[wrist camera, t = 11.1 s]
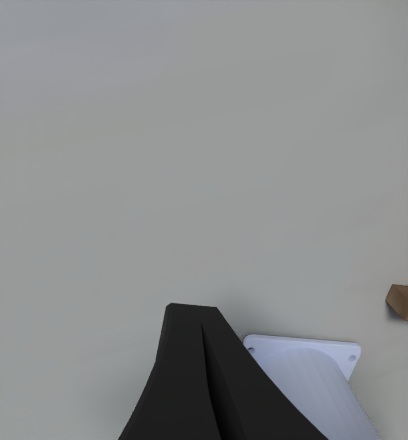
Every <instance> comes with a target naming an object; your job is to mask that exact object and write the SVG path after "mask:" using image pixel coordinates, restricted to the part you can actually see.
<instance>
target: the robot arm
mask: <svg viewBox="0 0 408 440" xmlns="http://www.w3.org/2000/svg"><path fill="white" fill-rule="evenodd" d="M248 348H252V349H249V350H248ZM361 352H362V349H361V347H360V346H359V344H357V343H352V342H340V341H328V340H316V339H304V338H292V337H280V336H268V335H256V334H251V335H248V336H246V337H245V338H244V340H243V343H242V342H241V341H240V339H239V338H238V336H237V335H236V334H235V332H234V331H233V329H232V328H231V327H230V325H229V324H228V322H227V321H226V320H225V318H224V317H223V315H222V314H221V313H220V311H219V310H218V308H217V307H209V306H198V305H188V304H177V303H170V304H169V305H167V306H166V310H165V315H164V320H163V325H162V330H161V335H160V340H159V345H158V350H157V355H156V362H155V364H154V367H153V369H152V371H151V374H150V376H149V379H148V381H147V384H146V386H145V388H144V390H143V393H142V395H141V397H140V399H139V401H138V403H137V405H136V407H135V409H134V411H133V413H132V415H131V417H130V419H129V421H128V423H127V425H126V426H125V428H124V430H123V432H122V434H121V435H120V437H119V439H118V440H381V438H380V436H379V435H378V433H377V431H376V430H375V428H374V426H373V424H372V423H371V421H370V419H369V418H368V416H367V414H366V412H365V411H364V409H363V407H362V406H361V404H360V402H359V400H358V399H357V397H356V395H355V394H354V392H353V390H352V388H351V387H350V385H349V383H348V380H349V378H350V376H351V374H352V372H353V369H354V367H355V365H356V363H357V361H358V359H359V356H360V354H361ZM350 356H351V357H350Z"/></svg>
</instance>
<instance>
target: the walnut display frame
mask: <svg viewBox="0 0 408 440" xmlns="http://www.w3.org/2000/svg"><path fill="white" fill-rule="evenodd" d="M386 301H387V302H388V304H389V305H390V306H391V307H392V308H393V309H394V310H395V311H396V312H397V313H398V314H399V315H400V317H401V318H402V319H403V320H404V321H408V286H403V285H395V284H393V285H392V287H391V289H390V292H389V294H388V296H387V298H386Z"/></svg>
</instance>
